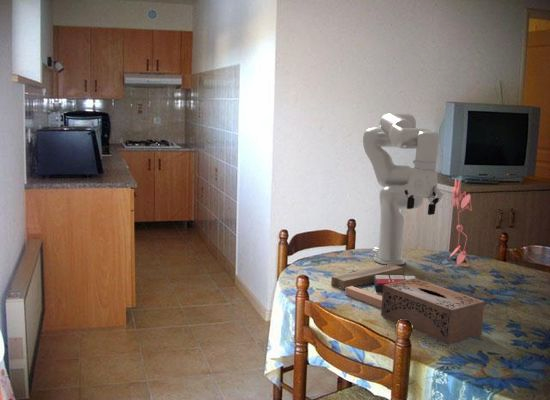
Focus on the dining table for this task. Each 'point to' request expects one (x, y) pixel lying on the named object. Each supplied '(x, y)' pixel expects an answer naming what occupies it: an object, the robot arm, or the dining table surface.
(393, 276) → the calculator
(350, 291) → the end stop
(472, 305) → the tissue box cover
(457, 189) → the leafy plant stem
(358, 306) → the dining table surface
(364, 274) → the brown wooden plank
